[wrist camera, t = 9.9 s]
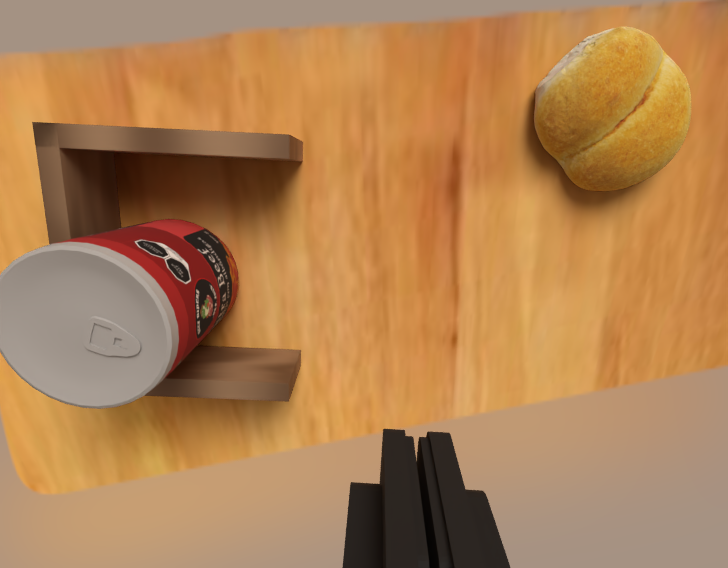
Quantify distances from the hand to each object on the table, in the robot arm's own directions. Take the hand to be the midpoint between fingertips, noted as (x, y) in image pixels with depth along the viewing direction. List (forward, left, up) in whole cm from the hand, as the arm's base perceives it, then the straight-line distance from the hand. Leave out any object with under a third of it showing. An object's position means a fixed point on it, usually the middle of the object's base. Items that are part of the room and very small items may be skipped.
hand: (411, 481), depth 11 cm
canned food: (+14, 0, -19) cm, 24 cm away
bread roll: (-13, -12, -20) cm, 26 cm away
